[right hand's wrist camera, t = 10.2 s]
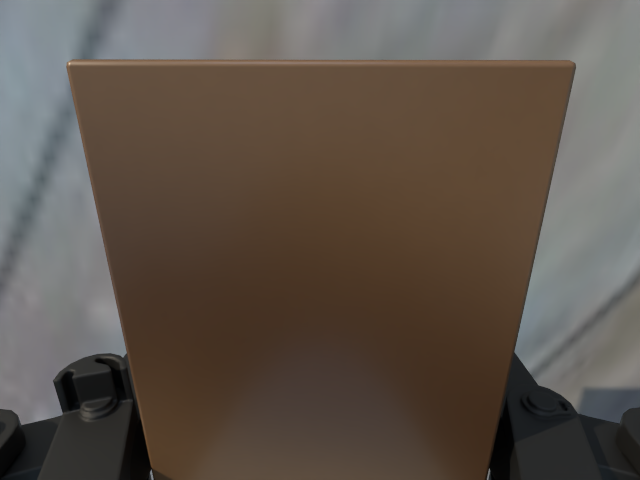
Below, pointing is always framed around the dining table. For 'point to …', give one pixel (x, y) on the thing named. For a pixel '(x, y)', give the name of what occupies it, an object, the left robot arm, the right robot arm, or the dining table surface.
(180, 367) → the beam
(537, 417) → the right robot arm
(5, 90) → the dining table surface
